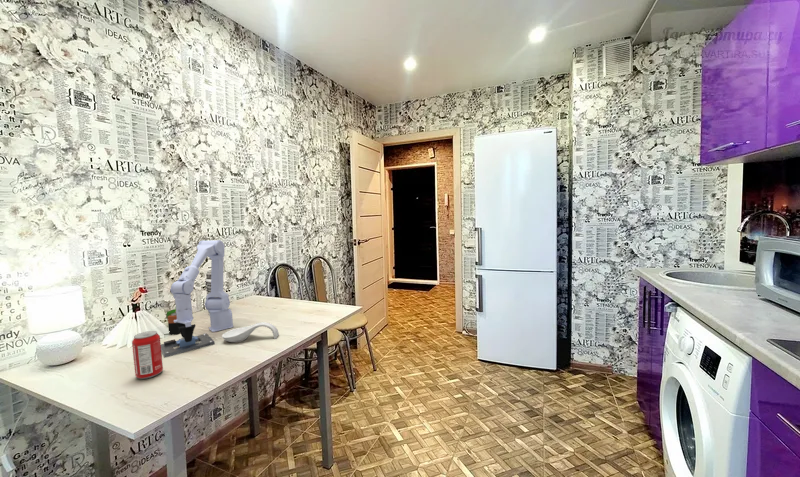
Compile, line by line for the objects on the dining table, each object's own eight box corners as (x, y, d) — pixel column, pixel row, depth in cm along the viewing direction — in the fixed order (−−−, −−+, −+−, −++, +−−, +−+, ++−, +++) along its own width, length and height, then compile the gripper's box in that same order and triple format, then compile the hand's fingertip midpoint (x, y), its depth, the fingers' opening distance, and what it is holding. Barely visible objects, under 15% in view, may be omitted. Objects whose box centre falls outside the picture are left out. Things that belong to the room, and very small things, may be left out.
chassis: (206, 335, 155) (206, 331, 155) (214, 344, 144) (214, 339, 144) (159, 347, 143) (159, 342, 143) (164, 357, 132) (163, 352, 132)
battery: (186, 329, 165) (184, 309, 164) (178, 334, 158) (176, 314, 157) (177, 330, 164) (175, 310, 164) (168, 335, 158) (166, 314, 157)
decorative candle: (205, 313, 190) (201, 270, 188) (222, 309, 197) (218, 268, 195) (211, 316, 184) (207, 272, 182) (228, 312, 191) (225, 269, 189)
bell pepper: (180, 327, 168) (178, 308, 167) (164, 328, 168) (162, 308, 167) (190, 322, 176) (189, 303, 176) (175, 322, 176) (173, 304, 176)
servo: (197, 342, 147) (196, 333, 147) (198, 344, 145) (197, 335, 145) (176, 347, 142) (175, 338, 142) (178, 350, 140) (177, 340, 140)
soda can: (141, 382, 113) (137, 339, 111) (131, 377, 117) (127, 335, 115) (167, 372, 119) (163, 332, 118) (157, 367, 123) (153, 328, 122)
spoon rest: (217, 346, 143) (216, 330, 142) (229, 336, 154) (228, 321, 154) (274, 342, 145) (273, 326, 144) (281, 332, 156) (280, 317, 156)
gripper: (170, 307, 145) (173, 337, 146) (175, 314, 134) (178, 346, 135) (188, 303, 150) (191, 332, 151) (195, 310, 139) (198, 341, 140)
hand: (186, 339), depth 143 cm, fingers open, 7 cm apart
